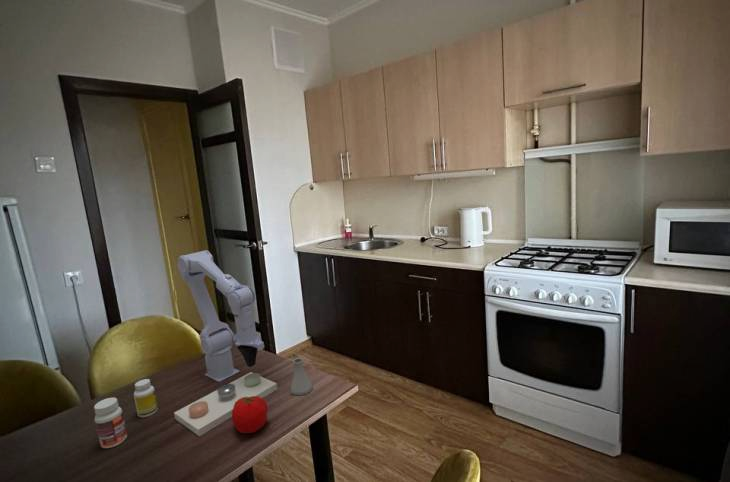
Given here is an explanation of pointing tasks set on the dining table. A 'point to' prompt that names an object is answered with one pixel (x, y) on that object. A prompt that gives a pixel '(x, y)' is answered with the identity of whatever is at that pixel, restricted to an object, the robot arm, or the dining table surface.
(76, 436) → the dining table surface
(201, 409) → the terracotta button
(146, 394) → the supplement bottle
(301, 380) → the flask
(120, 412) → the pill bottle
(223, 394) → the grey button
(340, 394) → the dining table surface
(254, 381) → the sage button
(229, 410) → the control panel
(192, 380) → the dining table surface
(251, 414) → the tomato
